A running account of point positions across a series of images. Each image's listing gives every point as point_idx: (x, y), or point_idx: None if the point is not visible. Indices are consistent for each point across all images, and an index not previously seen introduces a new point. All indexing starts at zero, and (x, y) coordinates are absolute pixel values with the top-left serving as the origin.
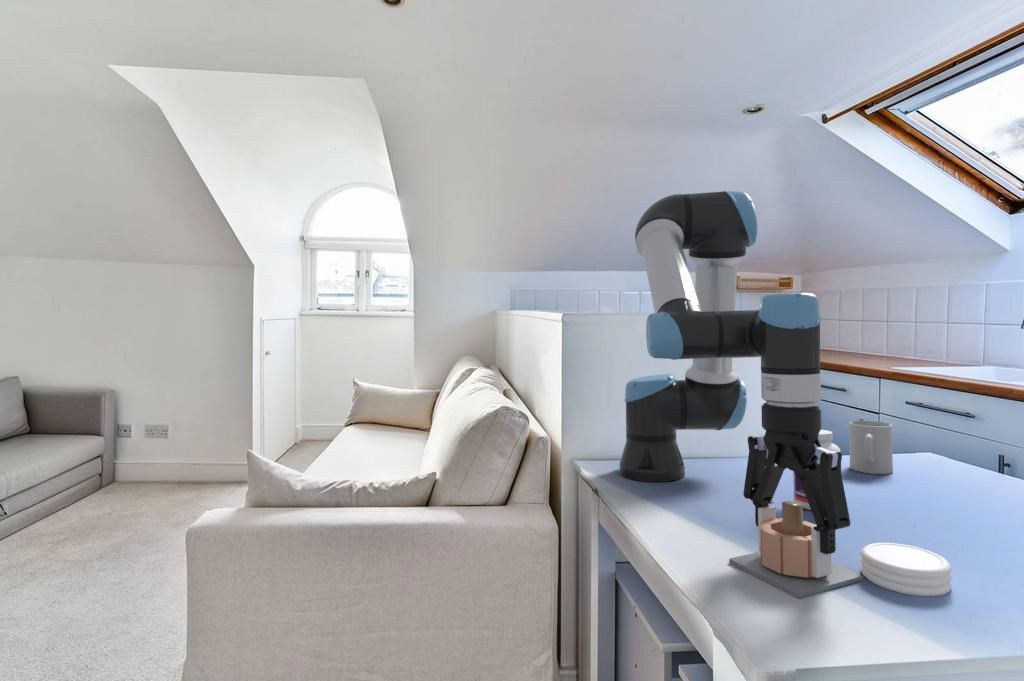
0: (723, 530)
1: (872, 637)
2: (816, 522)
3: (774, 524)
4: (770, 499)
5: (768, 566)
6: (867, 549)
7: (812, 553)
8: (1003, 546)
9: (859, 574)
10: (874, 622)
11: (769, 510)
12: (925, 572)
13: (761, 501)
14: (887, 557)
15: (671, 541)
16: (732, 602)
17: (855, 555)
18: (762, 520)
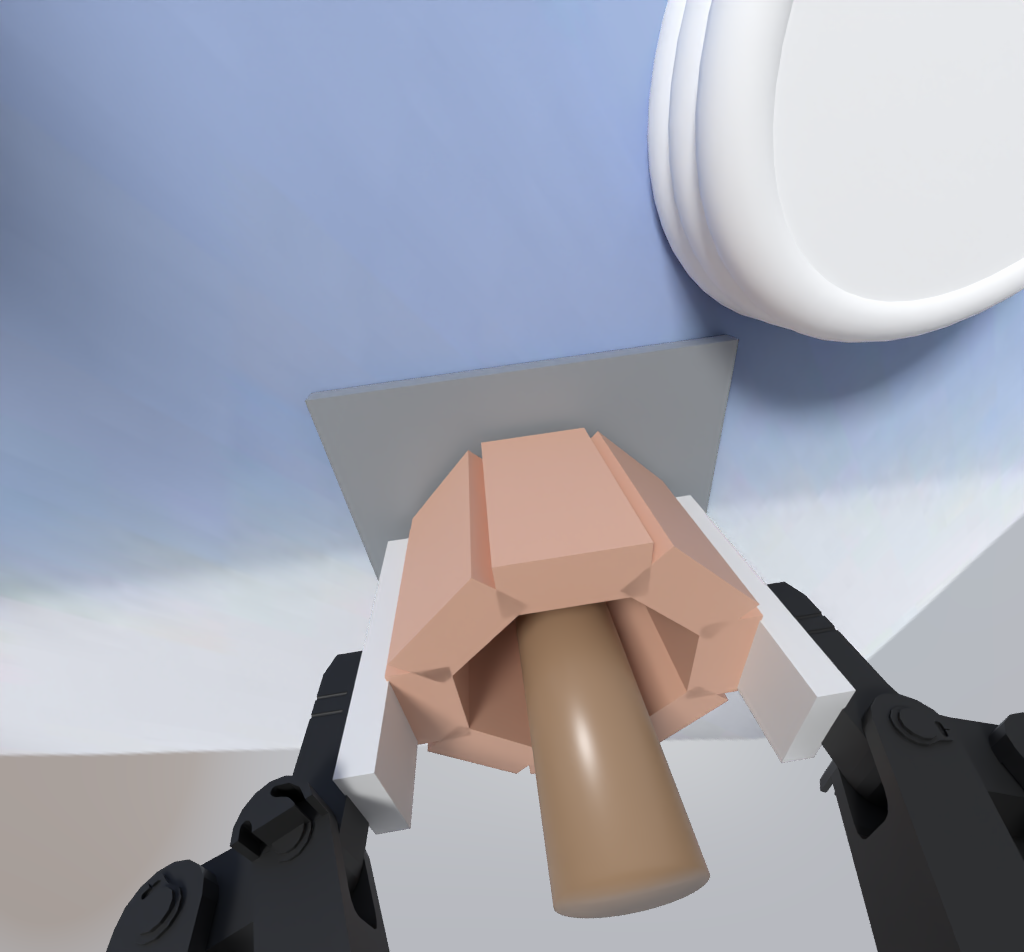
0: (24, 538)
1: (885, 575)
2: (843, 801)
3: (464, 703)
4: (342, 862)
5: None
6: (779, 226)
7: None
8: None
9: (723, 345)
10: (869, 528)
11: (395, 778)
12: None
13: (370, 888)
14: (920, 208)
15: (203, 717)
16: None
17: (493, 31)
18: (417, 744)
